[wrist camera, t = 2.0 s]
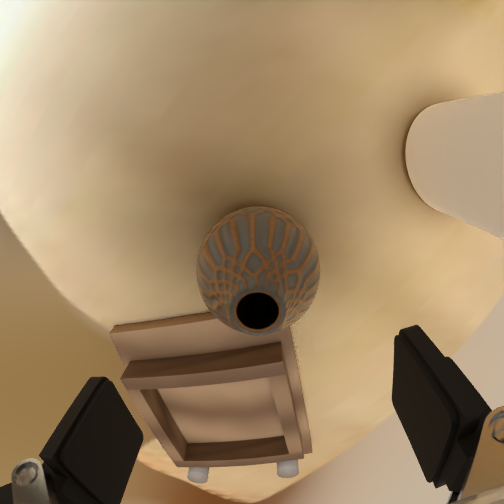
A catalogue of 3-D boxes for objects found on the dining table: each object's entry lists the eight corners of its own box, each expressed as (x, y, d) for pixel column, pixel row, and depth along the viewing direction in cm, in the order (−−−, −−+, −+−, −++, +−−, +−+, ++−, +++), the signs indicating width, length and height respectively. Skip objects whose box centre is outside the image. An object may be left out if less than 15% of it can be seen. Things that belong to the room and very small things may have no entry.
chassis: (114, 325, 24) (93, 354, 20) (284, 298, 22) (288, 329, 18) (185, 455, 29) (179, 484, 25) (311, 444, 28) (315, 475, 24)
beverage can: (406, 217, 20) (519, 284, 9) (392, 104, 18) (512, 73, 6) (486, 205, 20) (596, 251, 8) (477, 105, 17) (594, 99, 6)
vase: (277, 310, 23) (284, 393, 14) (191, 267, 22) (154, 335, 13) (328, 230, 21) (370, 282, 12) (237, 179, 20) (221, 199, 11)
